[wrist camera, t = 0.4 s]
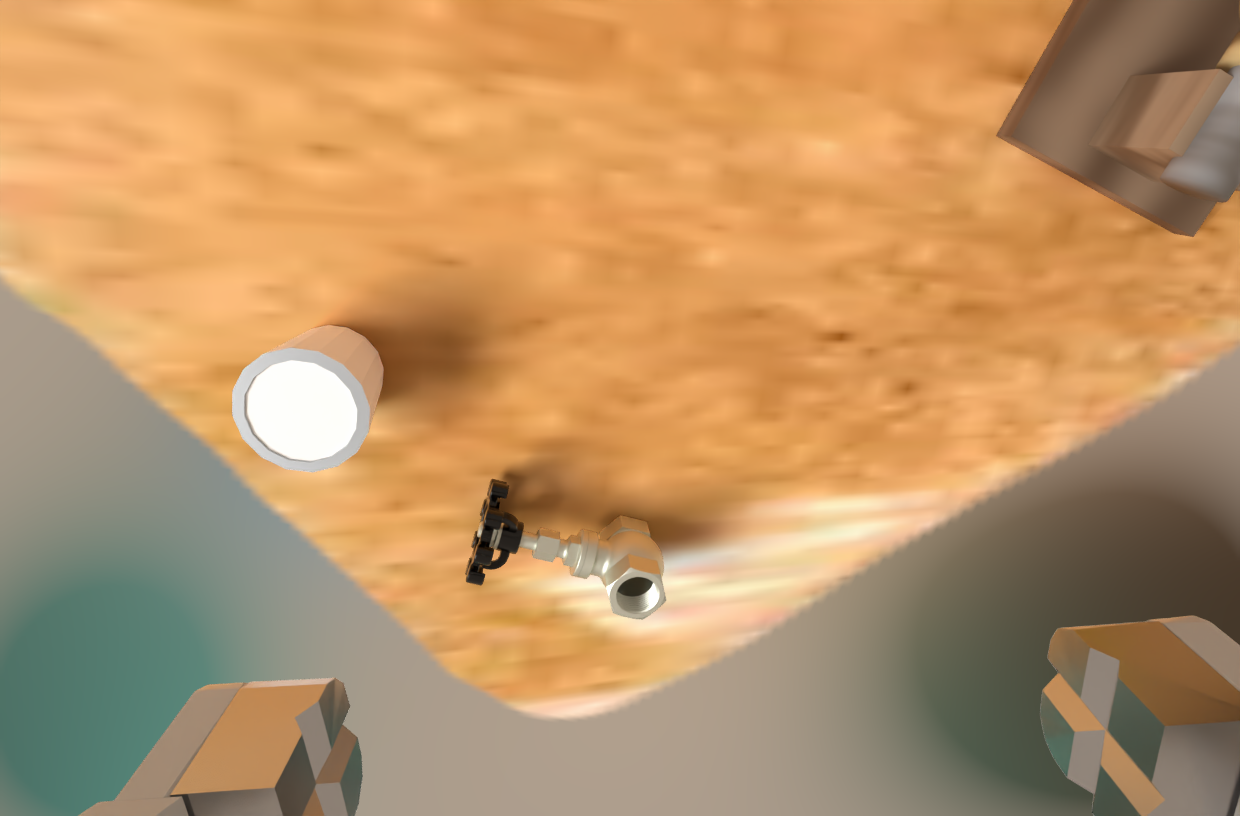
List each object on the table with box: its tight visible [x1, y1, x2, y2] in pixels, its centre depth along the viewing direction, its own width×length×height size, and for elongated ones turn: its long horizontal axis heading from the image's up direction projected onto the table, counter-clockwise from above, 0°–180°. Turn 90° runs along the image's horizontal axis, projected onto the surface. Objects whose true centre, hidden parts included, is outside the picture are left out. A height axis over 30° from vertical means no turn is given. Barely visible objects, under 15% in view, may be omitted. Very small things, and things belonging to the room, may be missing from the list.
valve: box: [465, 479, 666, 619], centre depth 47 cm, size 7×7×12 cm
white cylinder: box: [232, 325, 384, 472], centre depth 42 cm, size 7×7×7 cm
